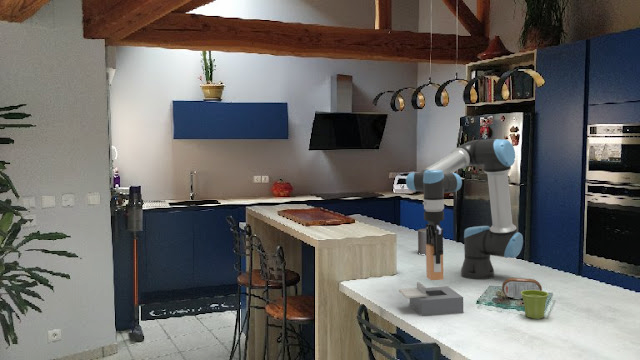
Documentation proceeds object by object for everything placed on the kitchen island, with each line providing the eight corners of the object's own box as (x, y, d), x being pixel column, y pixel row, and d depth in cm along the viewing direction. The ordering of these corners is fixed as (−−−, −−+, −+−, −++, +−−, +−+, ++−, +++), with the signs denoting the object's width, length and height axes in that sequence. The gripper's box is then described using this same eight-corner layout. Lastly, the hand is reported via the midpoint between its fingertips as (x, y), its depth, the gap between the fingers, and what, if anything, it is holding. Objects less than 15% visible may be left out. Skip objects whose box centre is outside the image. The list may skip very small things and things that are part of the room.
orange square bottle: (438, 276, 220) (438, 237, 219) (443, 279, 215) (442, 239, 214) (426, 277, 219) (425, 237, 218) (430, 280, 214) (430, 240, 213)
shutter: (418, 289, 222) (418, 281, 222) (426, 296, 212) (426, 288, 212) (398, 291, 221) (398, 282, 221) (406, 298, 211) (405, 289, 211)
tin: (541, 299, 225) (541, 278, 224) (542, 301, 222) (542, 280, 221) (502, 297, 230) (502, 276, 229) (502, 299, 227) (501, 278, 226)
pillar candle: (416, 252, 322) (415, 226, 321) (432, 251, 323) (432, 225, 322) (421, 256, 313) (420, 229, 311) (438, 255, 314) (437, 228, 312)
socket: (448, 300, 227) (447, 286, 227) (463, 312, 211) (463, 297, 211) (409, 303, 225) (409, 289, 225) (422, 316, 209) (422, 300, 209)
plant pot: (517, 312, 209) (517, 289, 209) (543, 312, 209) (543, 289, 208) (525, 321, 200) (525, 297, 199) (552, 320, 200) (552, 296, 199)
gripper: (417, 207, 224) (418, 265, 225) (432, 213, 206) (433, 276, 207) (435, 207, 225) (436, 264, 226) (451, 212, 207) (452, 275, 208)
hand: (434, 270), depth 217 cm, fingers closed on orange square bottle, 5 cm apart
